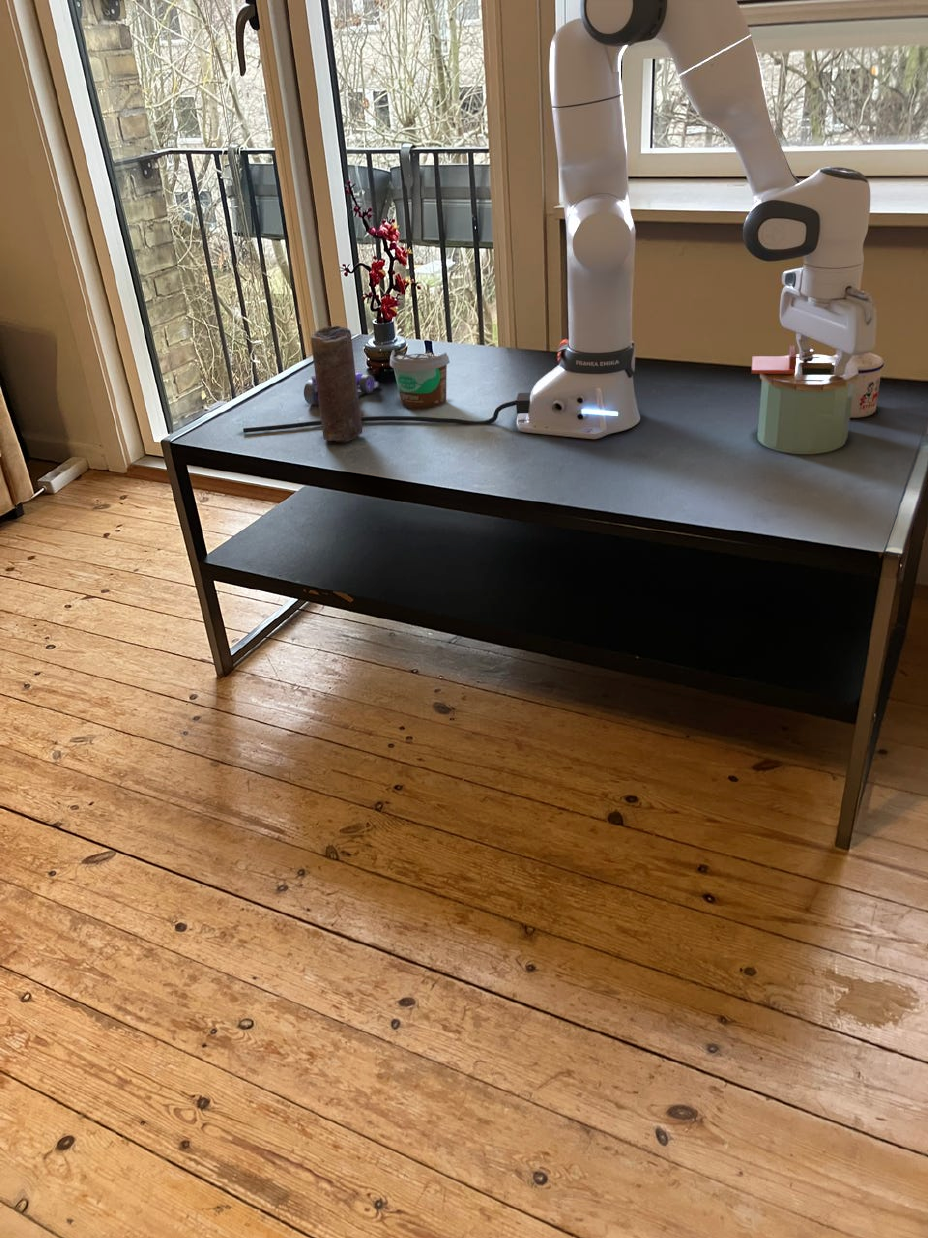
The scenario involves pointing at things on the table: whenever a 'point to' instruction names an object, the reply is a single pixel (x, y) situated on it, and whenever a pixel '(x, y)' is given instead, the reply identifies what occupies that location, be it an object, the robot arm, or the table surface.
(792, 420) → the green round box
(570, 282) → the robot arm
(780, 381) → the round tan lid
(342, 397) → the candle
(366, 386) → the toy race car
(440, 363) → the food container
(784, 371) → the slider
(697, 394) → the table surface
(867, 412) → the teacup with lid
